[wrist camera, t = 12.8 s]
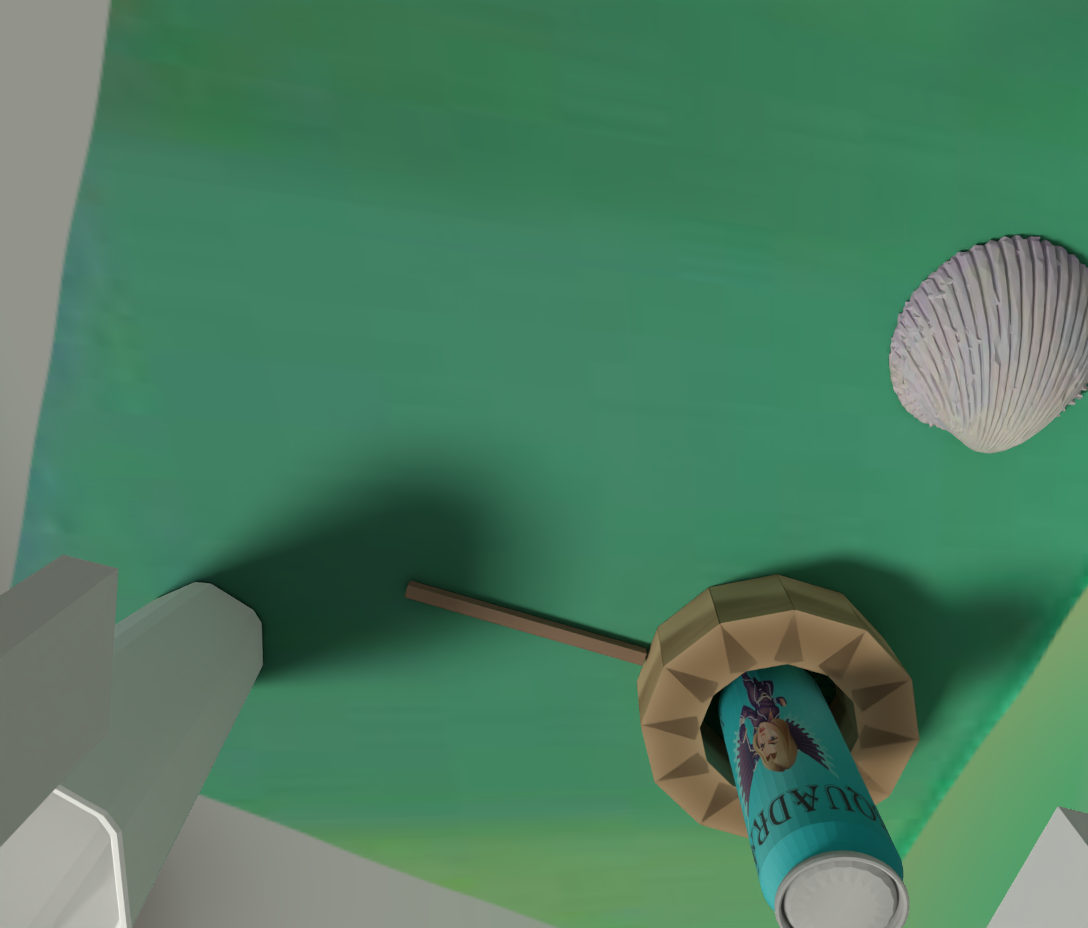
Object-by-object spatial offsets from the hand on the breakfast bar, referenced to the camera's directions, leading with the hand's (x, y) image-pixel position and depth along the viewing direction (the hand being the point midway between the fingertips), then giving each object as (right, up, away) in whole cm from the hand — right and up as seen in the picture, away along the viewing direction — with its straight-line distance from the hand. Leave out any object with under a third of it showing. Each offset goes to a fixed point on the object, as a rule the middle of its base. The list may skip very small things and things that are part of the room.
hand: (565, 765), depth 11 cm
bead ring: (+12, -9, +34) cm, 37 cm away
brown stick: (-1, -5, +34) cm, 34 cm away
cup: (-20, -6, +35) cm, 41 cm away
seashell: (+22, +10, +28) cm, 37 cm away
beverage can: (+12, -9, +34) cm, 37 cm away
